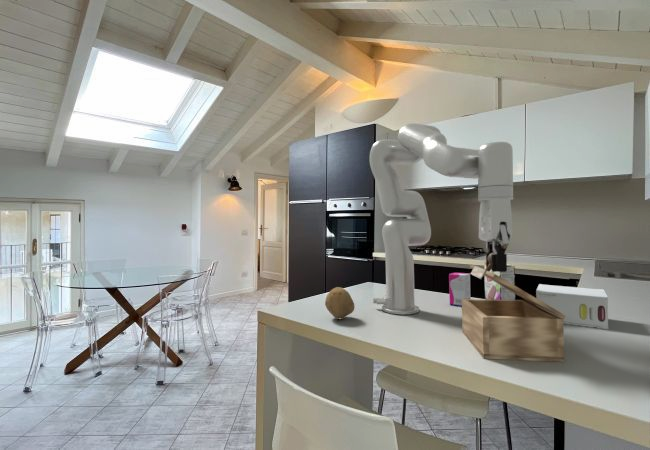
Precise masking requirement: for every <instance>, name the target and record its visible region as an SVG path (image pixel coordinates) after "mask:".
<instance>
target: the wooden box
mask: <svg viewBox="0 0 650 450" xmlns="http://www.w3.org/2000/svg"><path fill="white" fill-rule="evenodd" d="M461 320H462V321H461V322H462V323H461V324H462V325H461V327H462V328H461V329H462V332H461V333H462V334H463V335H464V336H465V337H466V339H467V340H468V341H469V342H470V344H471V345H472V347H474V348H475V350H476V351H477V352H478V353H479V355H480V356H481V357H482V358H483V359H490V360H491V359H492V360H508V361H509V360H510V361H511V360H512V361H513V360H514V361H530V362H531V361H536V362H558V363H559V362H560V363H562V362H563V363H565V340H564V339H565V335H564V332H565V331H564V330H565V329H564V324H563V319H562V318H560V317H558V316H556V315H554V314H552V313H550V312H548V311H546V310H544V309H542V308H540V307H538V306H536V305H535V304H533V303H531V302H529V301H527V300H525V299H515V300H488V299H485V298H484V299H483V298H482V299H481V298H479V299H475V298H471V299H462V307H461Z"/></svg>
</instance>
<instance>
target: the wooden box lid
mask: <svg viewBox="0 0 650 450" xmlns="http://www.w3.org/2000/svg"><path fill="white" fill-rule="evenodd" d="M491 255H493V253H491V254H489V256H488V262H489V265H488V266H487V268H486V269H484V268H482V267H479V266H477V265H474V264H472V263H471V264H470V265H469V268H471V269H472V270H471V272H469V274H470V275H472V276H474V277H476V278H478V279H479V280H482V278H483V277H484V276H486V277H488V278H489V279H491V280H493V281H494V282H496V283H498V284H500V285H501V286H503V287H505V288H506V289H508V290H510V291H511V292H513V293H515V296H516V295H517V296H519V297H520V298H522V300H526V301H528V302H530V303H532V304H534V305H537V306H539V307H541V308H543V309H545V310H547V311H549V312H551V313H553V314H555V315H557V316H559V317H561V318H563V319H565V317H566V315H564V314H562V313H561V312H559V311H557V310H555V309H554V308H552V307H550V306H549V305H547V304H545V303H544V302H542V301H540V300H538V299H537V298H536V297H535V296H534V295H532V294H529V293H528V292H526V291H525V290H523V289H522V288H520V287H518V286H517V285H516V284H515V285H513V284H511V283H509V282H508V281H506V280H504V279H503V278H501V277H499V276H497V275H496V274H494V273H491V272H490V270H491Z"/></svg>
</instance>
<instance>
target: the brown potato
mask: <svg viewBox="0 0 650 450" xmlns="http://www.w3.org/2000/svg"><path fill="white" fill-rule="evenodd" d="M324 305H325V308H326V309H327V311H328V312H329V313H330V314H331V315H332V317H333V318H335V319H337V318H343V319H345V318H346V317H347V316H348V315H350V314H352V313H353V312H354V311H355V302H354V300H353V298H352V297H351V295H350V293H349V292H348V291H347V290H346V289H345V288H344V287H341V286H340V287H339V286H336V287H334V288H332V289H331V290H330V291H329V292H328V293H327V295H326V297H325V302H324Z"/></svg>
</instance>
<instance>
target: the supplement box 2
mask: <svg viewBox="0 0 650 450" xmlns="http://www.w3.org/2000/svg"><path fill="white" fill-rule="evenodd" d="M535 293H536V294H535V296H536V297H535V298H537V299H538V300H540V301H542V302H544V303H545V304H547V305H549V306H550V307H552V308H554V309H555V310H557V311H559V312H561V313H562V314H564V315H566V317H565V319H563V318H562V319H563V323H564V324H565V325H571V324H572V326H578V325H581V326H580V327H586V326H588V327H587V328H593V327H597V328H596V329H601V328H602V329H601V330H609V310H608V309H609V308H608V307H609V305H608V303H609V302H608V301H609V296H608V295H607V293H606V291H605V289H602V288H601V289H600V288H591V287H589V288H587V287H578V286H577V287H576V286H563V285H550V284H542V283H539V284H538V286H537V288H536V290H535ZM536 306H537V305H536ZM538 307H539V306H538ZM540 308H541V307H540ZM542 309H543V308H542ZM544 310H545V309H544ZM546 311H547V310H546ZM548 312H549V311H548ZM550 313H551V312H550ZM552 314H553V313H552ZM554 315H555V314H554ZM556 316H557V315H556ZM558 317H559V316H558ZM560 318H561V317H560ZM564 324H563V325H564Z"/></svg>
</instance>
